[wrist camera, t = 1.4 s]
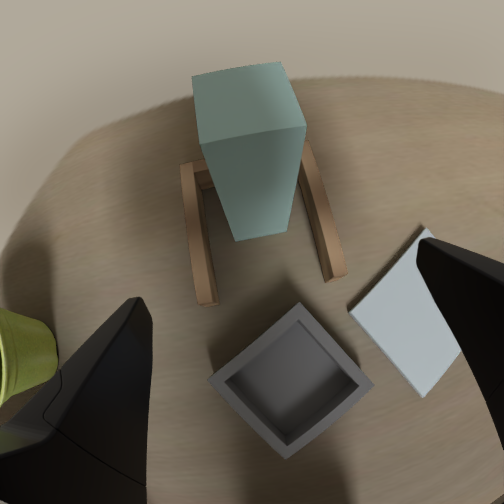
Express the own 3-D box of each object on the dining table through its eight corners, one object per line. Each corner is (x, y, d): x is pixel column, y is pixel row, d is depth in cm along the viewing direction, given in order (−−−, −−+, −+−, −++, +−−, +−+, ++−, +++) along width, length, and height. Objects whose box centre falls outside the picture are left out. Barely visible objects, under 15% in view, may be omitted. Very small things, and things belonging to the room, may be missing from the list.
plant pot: (88, 347, 21) (18, 350, 13) (52, 417, 19) (-9, 435, 11) (32, 284, 23) (-31, 266, 14) (3, 352, 21) (-56, 351, 13)
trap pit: (283, 446, 19) (285, 459, 16) (213, 373, 20) (207, 379, 18) (363, 379, 20) (374, 385, 17) (295, 304, 21) (299, 301, 19)
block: (286, 231, 23) (307, 125, 10) (235, 241, 23) (199, 144, 10) (275, 186, 24) (280, 61, 11) (227, 195, 24) (191, 76, 11)
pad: (420, 396, 19) (423, 397, 18) (348, 312, 21) (350, 312, 20) (483, 310, 20) (487, 309, 19) (423, 229, 22) (426, 227, 21)
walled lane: (337, 280, 21) (348, 273, 19) (206, 306, 21) (197, 304, 19) (304, 160, 24) (308, 140, 21) (188, 182, 24) (179, 164, 21)
